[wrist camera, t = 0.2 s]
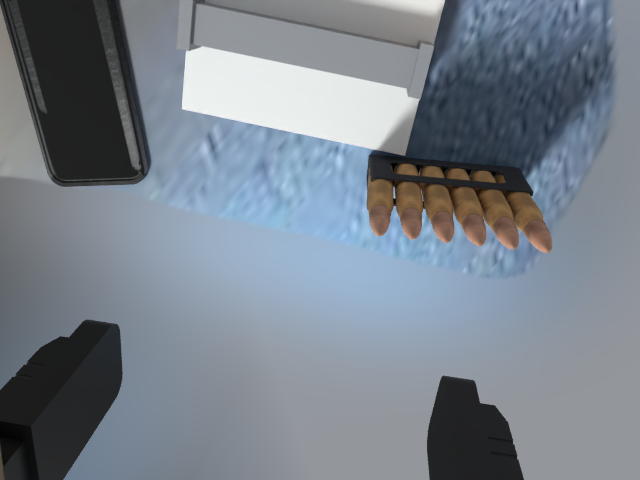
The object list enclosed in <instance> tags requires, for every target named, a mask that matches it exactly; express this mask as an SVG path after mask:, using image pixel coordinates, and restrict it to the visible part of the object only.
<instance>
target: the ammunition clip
mask: <svg viewBox="0 0 640 480" xmlns="http://www.w3.org/2000/svg"><path fill="white" fill-rule="evenodd" d="M393 187H395V196H396V199H394V198H393ZM421 190H422V194H421ZM529 194H530V195H529ZM422 195H423V200H424V202H423V201H422ZM531 196H533V190H532V189H531V187H530V186H529V184H528V182H527V181H526V179H525V177H524V176H523V174H522V172H521V170H520V169H519V168H515V167H504V166H492V165H481V164H470V163H459V162H447V161H436V160H425V159H413V158H402V157H391V156H380V155H370V156H369V160H368V170H367V209H368V211H369V218H370V225H371V228H372V230H373V232H374V233H375V234H376V235H377V236H382V235H384V234H385V232H386V231H387V229H388V227H389V223H390V216H391V212H392V209H393V206H396V210H397V213H398V215H399V217H400V221H401V226H402V229H403V231H404V233H405V234H406V236H407V237H408V238H410V239H416V238H417V237H418V236H419V234H420V231H421V227H422V212H423V209H425V210H426V214H427V216H428V218H429V220H430V221H431V224H432V226H433V229H434V231H435V233H436V235H437V237H438V238H439V239H440V240H441V241H442V242H445V243H448V242H450V241H451V239H452V237H453V234H454V222H453V211H454V214H455V216H456V219H457V221H458V222H459V223H460V224H461V226H462V228H463V229H464V232H465V234H466V236H467V237H468V239H469V240H470V241H471V242H472V243H473V244H475V245H477V246H482V245H483V244H484V243H485V240H486V227H485V224H484V219H485V221H486V223H487V224H488V225H489V226H490V227H491V228H492V230H493V231H494V233H495V234H496V236H497V238H498V239H499V240H500V242H501V243H502V244H503V245H505V246H506V247H507V248H509V249H516V248H517V246H518V244H519V234H518V230H517V228H518V229H519V230H521V231H522V232H523V233H524V235H525V236H526V237H527V238H528V240H529V241H530V242H531V243H532V244H533V245H534V247H536V248H537V249H538V250H540V251H542V252H545V253H548V252H550V251H551V249H552V239H551V236H550V233H549V230H548V228H547V227H546V224H545V222H544V220H543V216H542V213H541V211H540V209H539V208H538V206H537V205H536V203H535V202H534V200H533V199H532V198H531ZM483 217H484V219H483ZM516 227H517V228H516Z"/></svg>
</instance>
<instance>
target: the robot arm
mask: <svg viewBox="0 0 640 480" xmlns="http://www.w3.org/2000/svg"><path fill="white" fill-rule="evenodd" d="M121 382H122V357H121V340H120V329H119V326H118V325H117V324H113V323H106V322H100V321H94V320H85V321H83V322H82V324H81V325H80V326H79V327H78V328H77V329H76V330H75V331H74V333H73V334H72V335H71V336H70V337H69V338H68V337H61V336H60V337H59V338H57V339H55V340H53V341H51V342H50V343H48V344H46V345H44V346H43V347H41V348H40V349H39V350H38V351H37V352H36V353H35V354H34V355H33V356H32V357H31V358H30V359H29V360H28V362H27V365H24V366H23V367H22V368H21V369H20V370H19V371H18V372H17V373H16V376H15V377H12V378H11V379H10V381H9V382H8V383H7V384H6V385H5V386H4V387H3V388H2V389H1V390H0V480H63V479H64V478H65V476H66V474H67V473H68V471H69V470H70V468H71V467H72V465H73V464H74V462H75V461H76V459H77V458H78V456H79V455H80V453H81V451H82V450H83V448H84V447H85V445H86V444H87V442H88V441H89V439H90V438H91V436H92V435H93V433H94V431H95V430H96V428H97V427H98V425H99V424H100V422H101V421H102V419H103V418H104V416H105V414H106V413H107V411H108V410H109V408H110V407H111V405H112V403H113V402H114V400H115V399H116V397H117V395H118V393H119V390H120V386H121ZM427 454H428V465H429V477H430V480H524V479H523V475H522V471H521V468H520V464H519V461H518V460H517V453H516V450H515V446H514V444H513V439H512V435H511V432H510V428H509V425H508V422H507V421H506V419H505V418H504V417H503V416H502V414H501V413H500V412H499V410H498V409H497V408H496V406H494V405H488V404H481V403H480V401H479V397H478V393H477V388H476V384H475V381H473V380H468V379H462V378H455V377H449V376H442V378H441V380H440V384H439V387H438V392H437V395H436V399H435V404H434V407H433V412H432V416H431V419H430V423H429V429H428V437H427Z"/></svg>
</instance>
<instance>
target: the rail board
mask: <svg viewBox="0 0 640 480" xmlns="http://www.w3.org/2000/svg"><path fill="white" fill-rule="evenodd" d="M444 3H445V0H180V5H179V19H178V33H177V48H176V49H181V50H186V60H185V73H184V86H183V99H182V109H184V110H189V111H194V112H198V113H203V114H208V115H213V116H217V117H222V118H227V119H232V120H236V121H241V122H246V123H251V124H256V125H260V126H265V127H270V128H275V129H279V130H284V131H289V132H294V133H298V134H303V135H308V136H313V137H317V138H322V139H327V140H332V141H337V142H341V143H346V144H351V145H356V146H360V147H365V148H370V149H375V150H379V151H384V152H389V153H394V154H399V155H403V156H405V154H406V150H407V146H408V142H409V138H410V134H411V130H412V127H413V123H414V119H415V115H416V111H417V107H418V103H419V99H421V96H422V92H423V88H424V84H425V80H426V76H427V72H428V69H429V65H430V61H431V57H432V53H433V49H434V41H435V38H436V34H437V30H438V26H439V22H440V18H441V14H442V10H443V7H444Z"/></svg>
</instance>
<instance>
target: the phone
mask: <svg viewBox="0 0 640 480" xmlns="http://www.w3.org/2000/svg"><path fill="white" fill-rule="evenodd" d="M0 5H1V9H2V12H3V16H4V19H5V23H6V27H7V30H8V34H9V37H10V41H11V44H12V48H13V51H14V55H15V59H16V62H17V66H18V69H19V73H20V76H21V80H22V84H23V87H24V91H25V94H26V98H27V101H28V105H29V109H30V112H31V116H32V119H33V123H34V126H35V130H36V134H37V137H38V141H39V144H40V148H41V151H42V155H43V159H44V162H45V166H46V169H47V173H48V175H49V177H50V179H51V180H52V181H53V182H54V183H56V184H57V185H60V186H64V187H70V186H98V185H127V184H137V183H138V182H140V181H141V180H143V179H144V178H145V177H146V175H147V173H148V164H147V159H146V154H145V149H144V144H143V139H142V134H141V129H140V124H139V119H138V114H137V109H136V104H135V99H134V95H133V90H132V85H131V80H130V75H129V70H128V65H127V60H126V55H125V50H124V45H123V40H122V35H121V30H120V25H119V20H118V15H117V10H116V6H115V1H114V0H0Z"/></svg>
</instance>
